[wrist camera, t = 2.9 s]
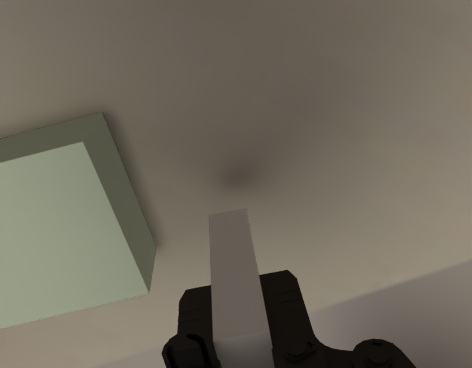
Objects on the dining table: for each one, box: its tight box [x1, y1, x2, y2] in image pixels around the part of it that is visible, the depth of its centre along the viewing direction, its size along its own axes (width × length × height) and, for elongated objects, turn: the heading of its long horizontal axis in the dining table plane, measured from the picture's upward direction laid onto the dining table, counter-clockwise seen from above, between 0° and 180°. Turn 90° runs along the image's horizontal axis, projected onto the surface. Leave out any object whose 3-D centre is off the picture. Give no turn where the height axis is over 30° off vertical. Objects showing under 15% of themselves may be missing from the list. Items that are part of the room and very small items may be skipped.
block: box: [0, 112, 156, 329], centre depth 21 cm, size 8×8×4 cm
